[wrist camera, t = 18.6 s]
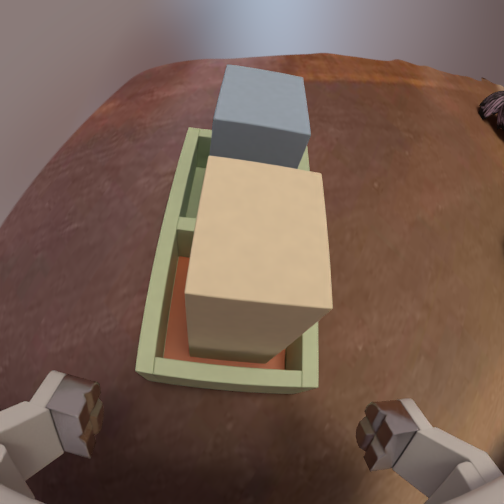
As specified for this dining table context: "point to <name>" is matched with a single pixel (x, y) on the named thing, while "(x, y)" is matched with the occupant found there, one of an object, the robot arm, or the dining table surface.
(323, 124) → the dining table surface
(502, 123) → the decorative flower
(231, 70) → the pale blue upright prism
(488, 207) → the dining table surface
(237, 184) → the beige rectangular block
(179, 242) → the holder
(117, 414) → the dining table surface
